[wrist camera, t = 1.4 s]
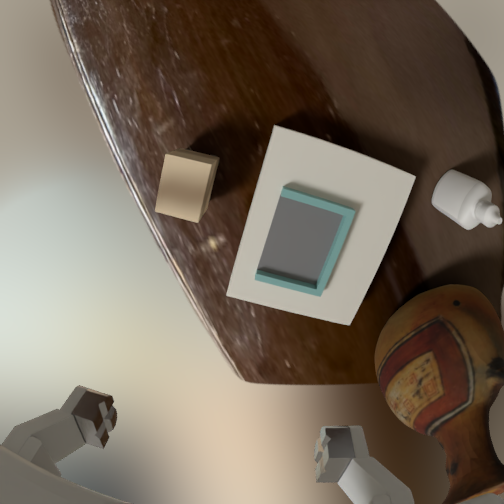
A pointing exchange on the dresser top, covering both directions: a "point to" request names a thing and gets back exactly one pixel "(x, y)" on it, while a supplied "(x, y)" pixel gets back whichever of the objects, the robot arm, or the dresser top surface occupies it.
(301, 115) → the dresser top surface
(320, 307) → the dock
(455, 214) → the eye dropper bottle
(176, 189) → the beige wheeled cart
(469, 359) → the ceramic pitcher
